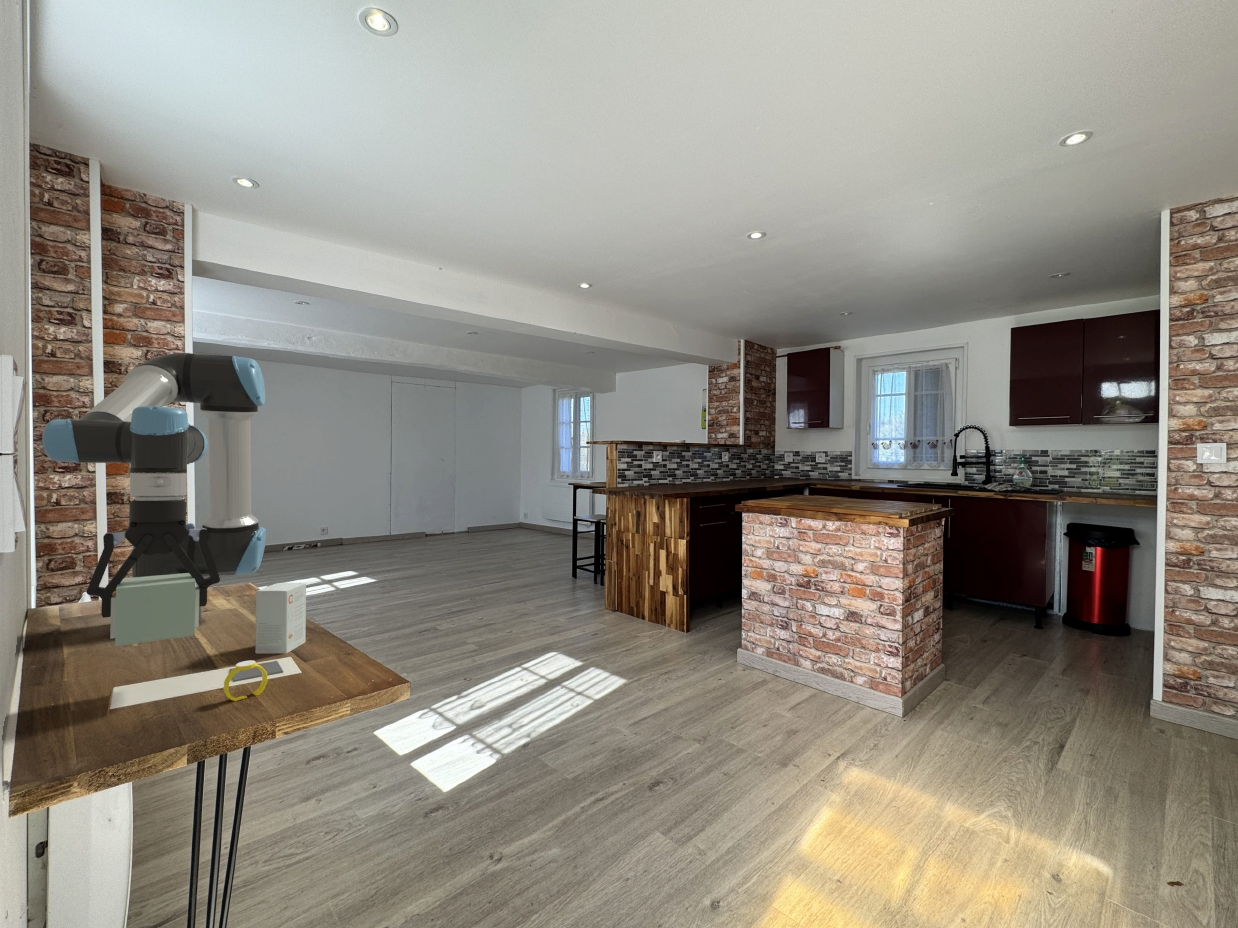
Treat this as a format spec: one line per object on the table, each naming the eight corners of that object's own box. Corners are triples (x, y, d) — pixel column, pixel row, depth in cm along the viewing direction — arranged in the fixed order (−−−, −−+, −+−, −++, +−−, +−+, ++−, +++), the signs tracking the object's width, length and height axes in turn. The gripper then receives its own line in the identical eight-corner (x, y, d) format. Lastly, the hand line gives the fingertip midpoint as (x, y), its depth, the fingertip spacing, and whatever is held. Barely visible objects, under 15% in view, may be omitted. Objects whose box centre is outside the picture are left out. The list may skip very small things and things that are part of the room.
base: (113, 688, 98) (113, 685, 98) (290, 658, 115) (290, 655, 115) (109, 710, 89) (110, 706, 89) (301, 674, 106) (302, 670, 106)
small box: (276, 642, 124) (277, 582, 125) (306, 642, 125) (307, 582, 125) (253, 655, 116) (255, 590, 116) (286, 655, 117) (287, 590, 117)
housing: (118, 631, 98) (119, 578, 98) (191, 622, 104) (192, 572, 104) (115, 646, 90) (116, 588, 90) (194, 635, 96) (195, 581, 96)
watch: (228, 708, 92) (226, 671, 92) (222, 703, 94) (220, 667, 93) (270, 694, 96) (267, 659, 96) (263, 690, 98) (261, 655, 98)
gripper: (63, 501, 87) (60, 648, 87) (241, 498, 102) (238, 624, 101) (69, 499, 93) (66, 637, 93) (236, 496, 107) (234, 616, 107)
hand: (156, 630), depth 97 cm, fingers closed on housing, 10 cm apart
